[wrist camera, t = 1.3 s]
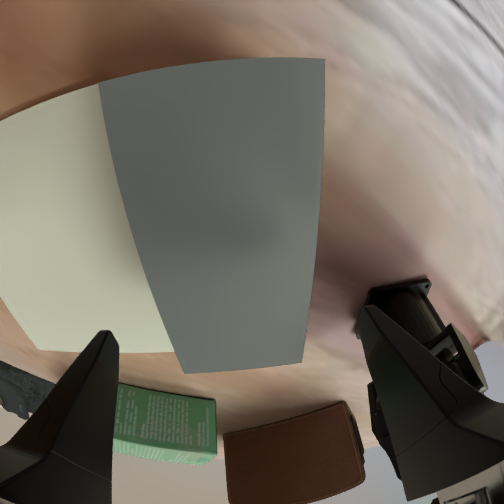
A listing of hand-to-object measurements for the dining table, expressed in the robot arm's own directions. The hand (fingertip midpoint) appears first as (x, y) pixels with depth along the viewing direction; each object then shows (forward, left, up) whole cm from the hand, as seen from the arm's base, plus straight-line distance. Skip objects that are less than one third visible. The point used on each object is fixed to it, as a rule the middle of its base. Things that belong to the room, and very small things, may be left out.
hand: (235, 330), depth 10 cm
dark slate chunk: (+34, +26, -10) cm, 44 cm away
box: (+12, +26, -10) cm, 30 cm away
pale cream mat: (+14, +3, -10) cm, 17 cm away
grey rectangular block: (0, 0, -6) cm, 6 cm away
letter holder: (-6, +40, -10) cm, 41 cm away
